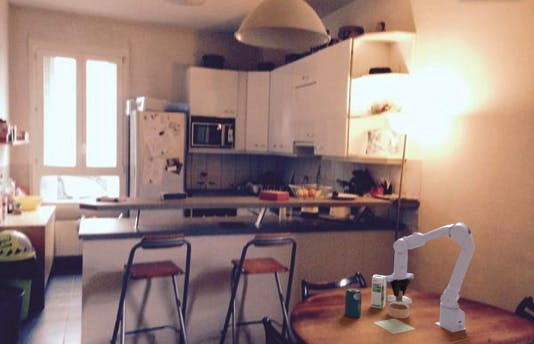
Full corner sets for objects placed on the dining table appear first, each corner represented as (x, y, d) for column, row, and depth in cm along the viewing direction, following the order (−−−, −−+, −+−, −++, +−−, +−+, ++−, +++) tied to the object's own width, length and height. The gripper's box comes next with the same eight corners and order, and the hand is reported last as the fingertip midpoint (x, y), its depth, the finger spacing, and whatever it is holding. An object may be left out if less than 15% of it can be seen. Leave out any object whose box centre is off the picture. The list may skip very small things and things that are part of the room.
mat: (415, 329, 178) (415, 328, 178) (393, 334, 172) (393, 333, 172) (394, 319, 188) (394, 318, 188) (373, 323, 183) (373, 322, 183)
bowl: (413, 317, 191) (413, 308, 191) (397, 320, 187) (398, 311, 187) (398, 310, 199) (398, 301, 199) (383, 313, 195) (383, 304, 195)
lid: (417, 303, 190) (417, 292, 190) (397, 306, 186) (397, 295, 185) (400, 295, 200) (400, 285, 200) (381, 297, 196) (381, 287, 195)
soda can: (362, 319, 187) (363, 292, 186) (346, 319, 187) (347, 291, 186) (358, 313, 194) (359, 287, 193) (343, 312, 194) (344, 286, 193)
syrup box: (370, 307, 202) (371, 276, 201) (373, 303, 207) (374, 273, 207) (382, 309, 199) (384, 278, 199) (385, 305, 205) (387, 275, 204)
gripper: (405, 261, 199) (404, 290, 200) (381, 264, 192) (380, 294, 193) (417, 265, 193) (416, 295, 193) (393, 269, 186) (391, 299, 187)
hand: (399, 295), depth 193 cm, fingers closed on lid, 3 cm apart
